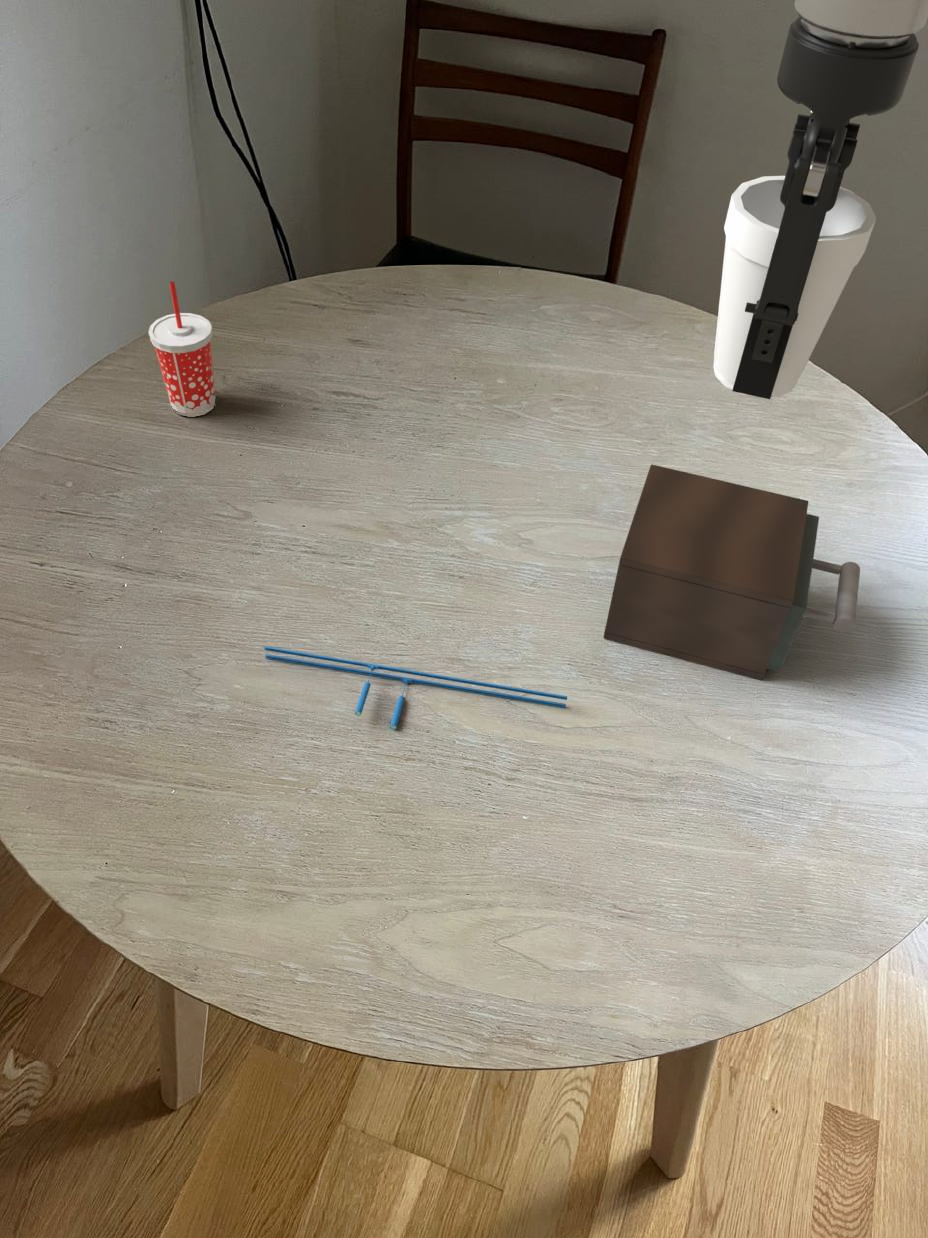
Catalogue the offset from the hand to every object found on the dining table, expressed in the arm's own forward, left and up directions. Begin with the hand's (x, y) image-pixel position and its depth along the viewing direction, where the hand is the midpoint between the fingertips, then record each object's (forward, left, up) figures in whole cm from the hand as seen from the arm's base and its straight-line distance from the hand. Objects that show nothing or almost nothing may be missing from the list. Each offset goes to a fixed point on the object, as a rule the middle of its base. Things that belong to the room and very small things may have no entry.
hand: (760, 355), depth 77 cm
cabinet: (0, +4, -23) cm, 24 cm away
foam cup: (0, 0, -2) cm, 2 cm away
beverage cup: (+55, -7, -24) cm, 60 cm away
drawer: (-4, +4, -23) cm, 23 cm away
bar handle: (+20, +23, -24) cm, 38 cm away
